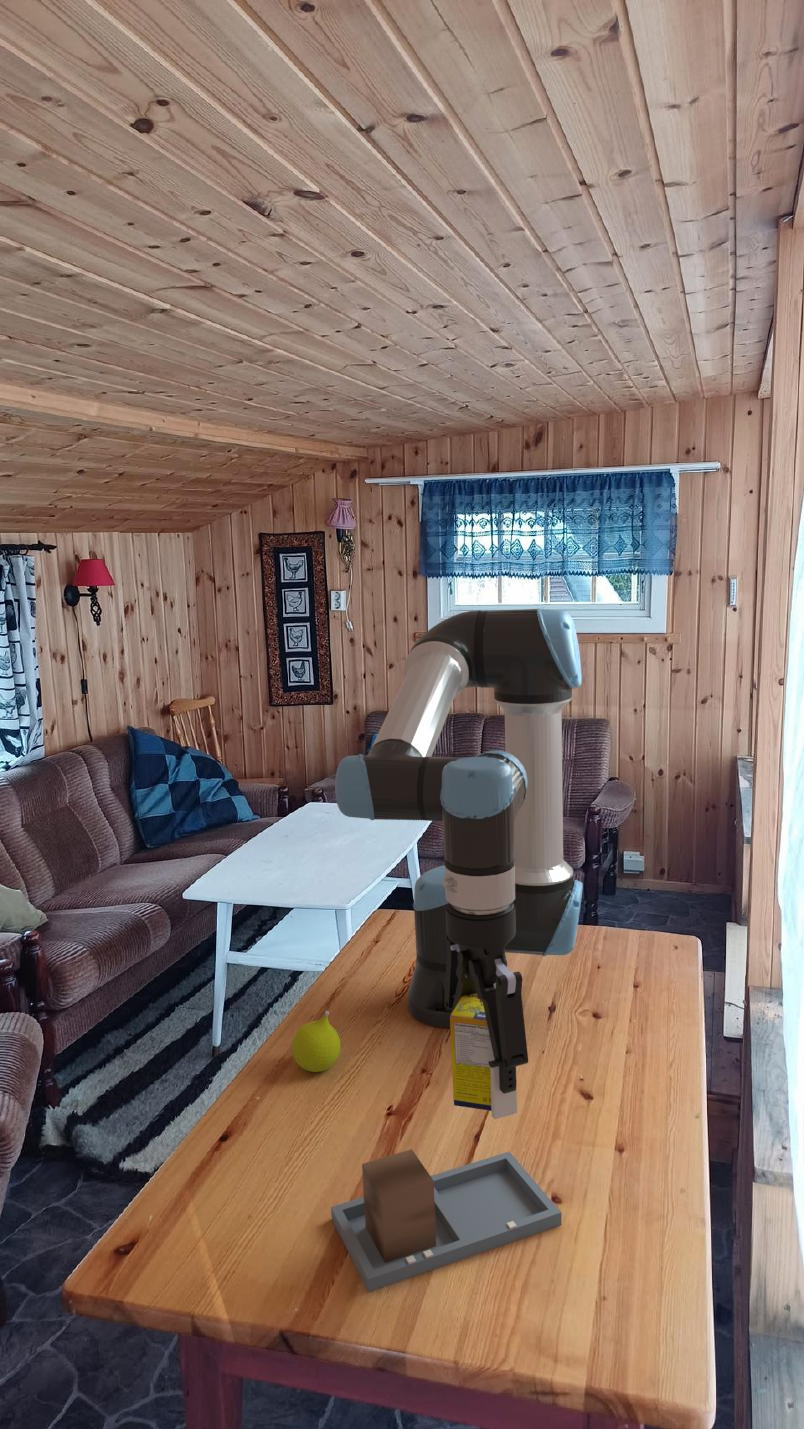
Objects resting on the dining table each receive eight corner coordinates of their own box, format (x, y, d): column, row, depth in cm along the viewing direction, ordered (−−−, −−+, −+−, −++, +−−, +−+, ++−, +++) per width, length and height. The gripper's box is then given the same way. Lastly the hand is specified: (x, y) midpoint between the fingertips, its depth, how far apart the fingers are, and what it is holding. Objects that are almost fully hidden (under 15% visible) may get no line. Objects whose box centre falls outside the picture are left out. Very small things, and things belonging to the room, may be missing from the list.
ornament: (351, 1069, 144) (347, 1006, 142) (311, 1087, 139) (306, 1022, 137) (323, 1050, 149) (320, 989, 147) (284, 1067, 145) (279, 1005, 143)
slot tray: (332, 1223, 112) (330, 1205, 111) (509, 1166, 120) (509, 1149, 120) (369, 1296, 101) (368, 1277, 101) (561, 1228, 109) (561, 1210, 109)
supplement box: (517, 1084, 112) (515, 996, 110) (505, 1114, 106) (503, 1022, 104) (466, 1077, 114) (464, 989, 112) (452, 1106, 108) (449, 1015, 106)
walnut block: (365, 1227, 110) (362, 1163, 109) (414, 1211, 112) (411, 1148, 111) (385, 1263, 105) (381, 1196, 103) (436, 1245, 107) (433, 1180, 105)
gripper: (410, 877, 114) (417, 1056, 118) (494, 945, 95) (500, 1155, 99) (468, 866, 116) (473, 1042, 121) (561, 930, 97) (564, 1135, 102)
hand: (485, 1093), depth 110 cm, fingers closed on supplement box, 8 cm apart
